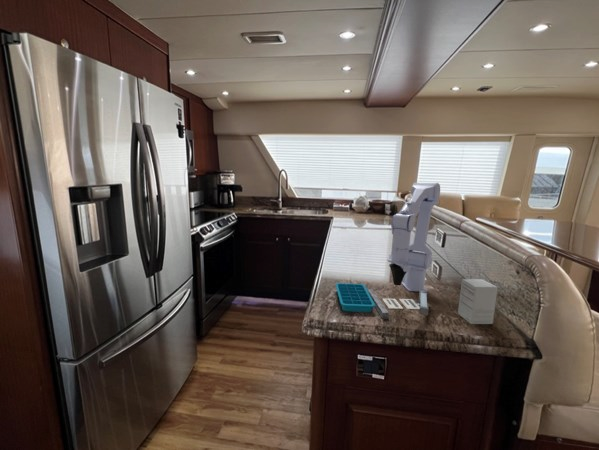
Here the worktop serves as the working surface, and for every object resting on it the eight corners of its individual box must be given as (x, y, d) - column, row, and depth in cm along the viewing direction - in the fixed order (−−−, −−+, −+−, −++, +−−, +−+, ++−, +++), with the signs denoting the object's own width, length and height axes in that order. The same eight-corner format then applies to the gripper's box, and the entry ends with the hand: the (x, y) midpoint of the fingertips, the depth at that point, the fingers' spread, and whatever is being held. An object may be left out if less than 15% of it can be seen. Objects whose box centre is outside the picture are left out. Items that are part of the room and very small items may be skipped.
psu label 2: (399, 299, 106) (399, 298, 106) (412, 299, 106) (412, 298, 106) (407, 309, 98) (407, 308, 98) (421, 309, 98) (421, 308, 98)
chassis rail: (366, 293, 111) (367, 288, 110) (371, 293, 111) (372, 288, 110) (382, 318, 91) (382, 312, 91) (388, 318, 91) (388, 312, 91)
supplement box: (477, 313, 96) (482, 278, 94) (493, 324, 89) (499, 287, 87) (456, 313, 96) (461, 278, 94) (470, 324, 89) (475, 286, 87)
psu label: (382, 299, 106) (382, 298, 106) (395, 299, 106) (395, 298, 106) (388, 308, 98) (389, 307, 98) (403, 309, 98) (403, 308, 98)
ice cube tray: (340, 313, 95) (341, 304, 94) (334, 289, 114) (335, 282, 114) (375, 314, 94) (375, 306, 94) (363, 290, 114) (363, 284, 114)
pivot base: (412, 301, 105) (412, 300, 104) (425, 301, 105) (425, 301, 105) (418, 307, 100) (418, 306, 100) (432, 307, 100) (432, 307, 100)
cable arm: (418, 301, 104) (419, 289, 103) (426, 302, 103) (427, 290, 102) (418, 321, 89) (419, 307, 88) (427, 322, 88) (428, 309, 87)
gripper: (382, 243, 106) (379, 277, 108) (396, 252, 91) (393, 292, 93) (401, 243, 106) (398, 277, 108) (418, 253, 91) (414, 292, 94)
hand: (397, 284), depth 101 cm, fingers closed
